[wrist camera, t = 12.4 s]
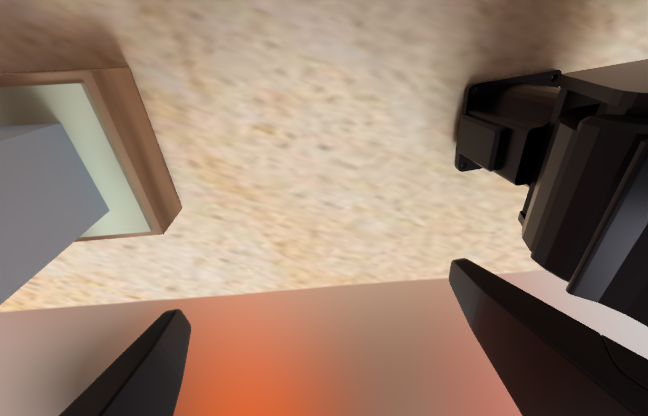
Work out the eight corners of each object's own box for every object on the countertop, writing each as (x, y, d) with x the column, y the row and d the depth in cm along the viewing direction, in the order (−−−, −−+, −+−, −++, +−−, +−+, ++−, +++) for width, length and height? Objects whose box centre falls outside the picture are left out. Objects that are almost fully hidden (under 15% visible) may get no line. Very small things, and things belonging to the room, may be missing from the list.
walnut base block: (128, 67, 16) (85, 71, 12) (182, 208, 21) (161, 236, 18) (-50, 75, 15) (-144, 82, 12) (51, 218, 20) (4, 250, 17)
